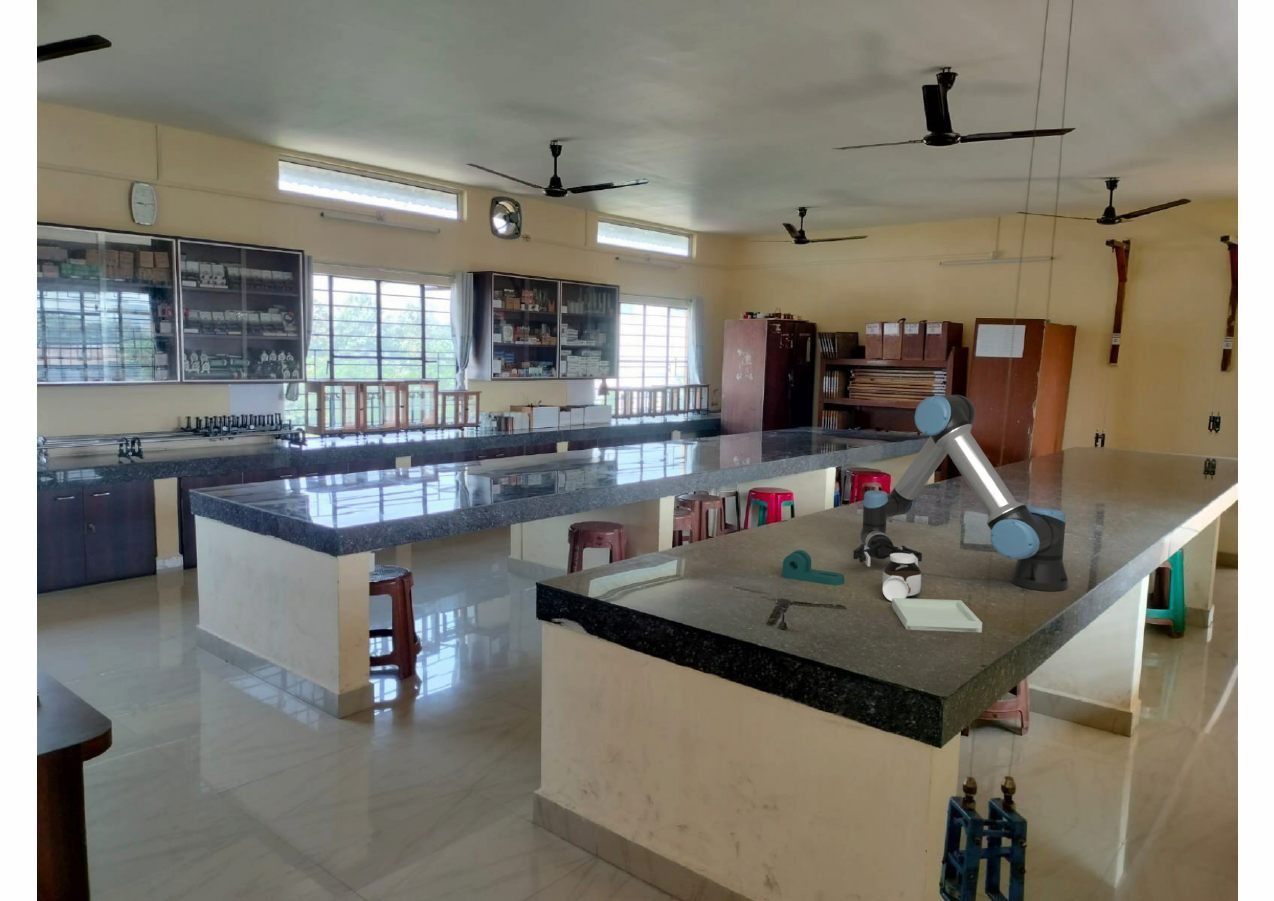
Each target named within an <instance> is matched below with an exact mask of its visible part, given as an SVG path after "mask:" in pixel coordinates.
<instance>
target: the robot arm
mask: <svg viewBox="0 0 1274 901" xmlns="http://www.w3.org/2000/svg"><path fill="white" fill-rule="evenodd" d="M975 419H976V408H975V406H974V404H973V402H972V401H971V400H970V399H969V398H968V397H965V396H964V395H960V394H950V395H932V396H929V397H926V398H924V399H923V400H921V401H920V402H919V404H918V405H917V406H916V409H915V413H914V424H915V426H916V428H917V429H918V431H919V432H920V433H921V434H924V435H926V436H929V438H928V439H927V440H926V442H925V443H924V444H923V446H922V447H921V449H920V450H919V451H918V453H917V455H916V456H915V458H914V459H913V460H912V461H911V463H910V464H909V465H908V467H907V469H906V470H905V471H904V473H903V475H902V476H901V478H900V479H899V480H898V482H897V483H896V484H895V485H894V488H893V489H892V490H891V491H890V493H887V492H886V491H883V490H875V489H873V490H867V491H865V492H864V495H863V496H864V497H863V498H864V499H863V501H862V505H863V507H862V528H861V530H860V533H859V535H860V536H859V537H860V539H861V542H862V543H861V544H860V545H859V546H858V547H857V548H855V549H854V550H853V554H852V555H853V557H852V558H853V560H857V559H859V563H865V565H866V566H867V567H871V558H875V559H878V560H885V559H887V558H890V554H893V553H907V554H911V555H914V556H915V564H916V565H917V566H918V567H919V563H920V562H922V560H923V556H922V555H923V553H922V552H920V551H917V550H914V549H911V548H909V547H906V546H905V545H901V546H900V548H899V547H898V546H894V544H893V541H892V540H891V539H890V538H889V536H888V535H887V520H888V518H890V517H895V516H901V515H905V514H907V513H909V512H911V511H912V510H913V509H914V507H915V499H916V498H917V496H918V495H919V494H920V492H921V490H922V489H923V488H924V487H925V485H926V484H927V482H928V481H929V480H930V478H931V477H932V476H933V475H934V473H935V471H936V470H937V469H938V467H939V466H940V465H941V464H942V462H943V460H944V459H945V458H946V456H947V455H948V456H949V457H950V459H951V460H952V462H953V464H954V465H955V467H956V468H957V470H958V471H959V473H960V474H961V476H962V478H963V479H964V481H965V482H966V483H967V485H968V487H969V489H970V490H971V492H972V493H973V495H974V496H975V498H976V499H977V500H978V503H979V504H980V505H981V507H982V509H983V510H984V512H986V514H987V517H988V518H987V522H986V524H987V526H988V528H989V530H990V542H991V545H992V547H993V548H994V550H995V551H996V552H997V553H998V554H1000V556H1003V557H1004V558H1006V559H1010V560H1017V561H1016V563H1015V565H1014V567H1013V570H1012V572H1011V577H1010V578H1011V579H1010V581H1011V582H1012V584H1014V585H1015V586H1019V587H1021V588H1025V589H1030V590H1036V591H1044V592H1057V591H1058V592H1061V591H1064V590H1067V589H1068V587H1069V579H1068V576H1067V572H1066V568H1065V565H1064V562H1063V561H1064V560H1063V558H1064V547H1065V533H1066V524H1067V522H1066V514H1065V512H1064V511H1062V510H1059V509H1054V508H1046V507H1040V506H1039V507H1038V506H1030V505H1029V506H1027V505H1026V504H1025V503H1022V502H1019V501H1017V500H1016V499H1015V497H1014V496H1013V495H1012V493H1011V491H1010V490H1009V488H1008V487H1007V485H1006V484H1005V482H1004V481H1003V480H1002V478H1001V476H1000V475H999V474H998V472H997V470H996V469H995V468H994V466H993V464H992V463H991V462H990V460H989V459H988V457H987V455H986V454H985V453H984V451H983V450H982V448H981V446H980V445H979V444H978V442H977V440H976V439H975V438H974V436H973V435H972V433H971V431H972V429H973V428H972V427H973V424H974V422H975Z"/></svg>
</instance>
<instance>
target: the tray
mask: <svg viewBox="0 0 1274 901" xmlns="http://www.w3.org/2000/svg"><path fill="white" fill-rule="evenodd" d="M891 608H892V610H893V611H894V612H895V614H896V616H897V617H898V619H899V620H900V622H901V623H902V625H903V626H904V628H905V630H907V631H930V632H932V631H933V632H934V631H935V632H957V633H958V632H960V633H983V632H982V631H983V622H982V621H981V620H980V618H978V616H976V614H975V613H974V612H973V611H972V610H971V609H970V608H969V607H968V606H967V605H966V604H965V603H964V601H963V600H961V599H959V600H958V599H930V598H929V599H928V598H912V599H905V598H892V601H891Z"/></svg>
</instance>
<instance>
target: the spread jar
mask: <svg viewBox="0 0 1274 901" xmlns="http://www.w3.org/2000/svg"><path fill="white" fill-rule="evenodd" d="M882 570H883V571H882V593H883V595H884V597H885V599H887V600H888V601H890V602H892V598H905V599H915V597H916V596H919V593H920V592H921V588H922V573H921V569H920V567H919V565H918V566H917V565H916V564H915V556H914V555H911V554H907V553H893V554H890V557H889V561H887V563H886V564H885V565H884V566H883V569H882Z"/></svg>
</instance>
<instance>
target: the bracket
mask: <svg viewBox="0 0 1274 901" xmlns="http://www.w3.org/2000/svg"><path fill="white" fill-rule="evenodd" d="M782 579H787V580H794V579H795V580H796V581H801V582H808V583H814V584H822V585H829V586H841V585H844V584H845V575H844V574H843V573H839V572H833V571H827V570H821V569H819V570H818V569H813V568H812V558H811V556H810V554H809V553H808V552H807V551H805V550H802V549H797V550H795V551H793V552H792V553H790V554H788V555H786V556H785V558H783V561H782Z"/></svg>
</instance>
